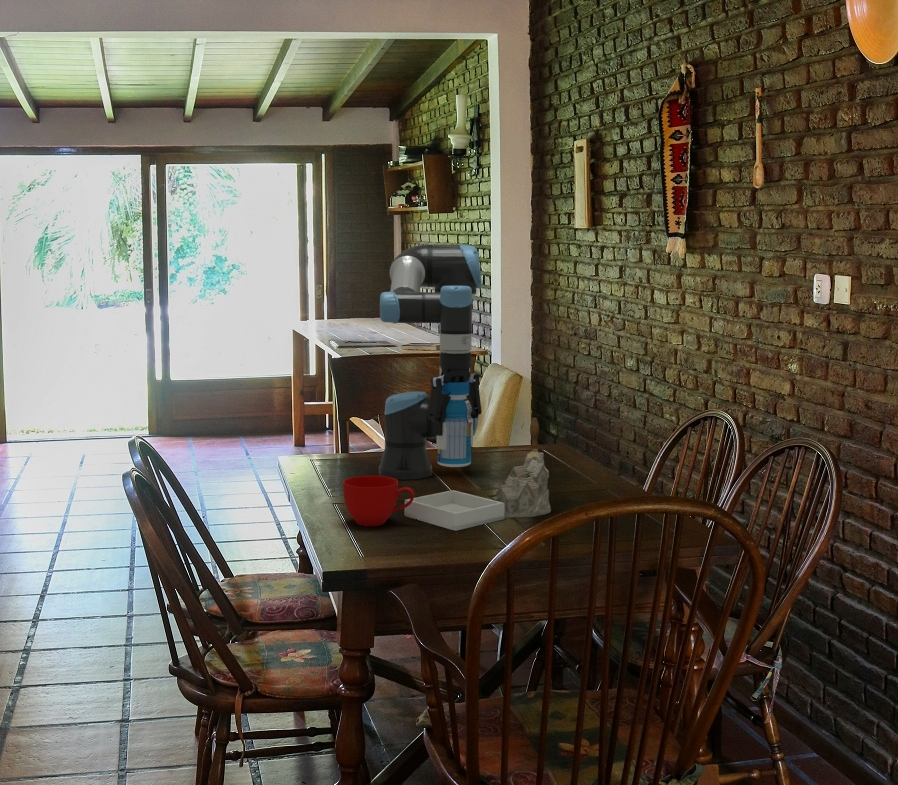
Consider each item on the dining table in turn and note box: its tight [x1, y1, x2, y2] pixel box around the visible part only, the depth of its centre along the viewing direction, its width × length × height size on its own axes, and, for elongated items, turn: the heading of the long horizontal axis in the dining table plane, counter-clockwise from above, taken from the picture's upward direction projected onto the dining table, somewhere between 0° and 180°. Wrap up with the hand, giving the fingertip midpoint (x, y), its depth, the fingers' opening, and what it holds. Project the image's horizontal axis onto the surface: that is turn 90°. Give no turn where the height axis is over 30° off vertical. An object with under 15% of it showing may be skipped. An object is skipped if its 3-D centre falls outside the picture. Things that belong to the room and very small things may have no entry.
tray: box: [404, 489, 505, 531], centre depth 265 cm, size 18×16×4 cm
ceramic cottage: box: [495, 452, 552, 519], centre depth 273 cm, size 16×16×15 cm
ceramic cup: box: [342, 475, 415, 527], centre depth 259 cm, size 13×17×10 cm
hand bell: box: [526, 417, 550, 473], centre depth 317 cm, size 8×8×16 cm
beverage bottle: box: [436, 381, 472, 468], centre depth 262 cm, size 8×8×20 cm
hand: (454, 446), depth 263 cm, fingers closed on beverage bottle, 8 cm apart
